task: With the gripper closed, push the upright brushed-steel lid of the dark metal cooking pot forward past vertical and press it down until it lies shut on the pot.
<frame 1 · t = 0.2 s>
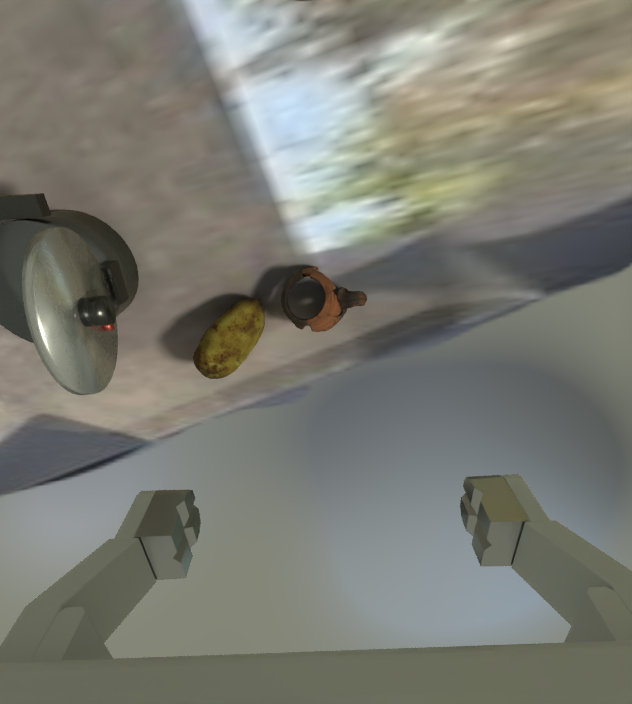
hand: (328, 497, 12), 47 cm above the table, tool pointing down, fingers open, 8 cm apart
pot: (82, 267, 56), on the table
lid: (92, 311, 39), point 18 cm above the table, hinge at 100.0°
potato: (237, 328, 61), on the table
pottery mug: (323, 294, 58), on the table
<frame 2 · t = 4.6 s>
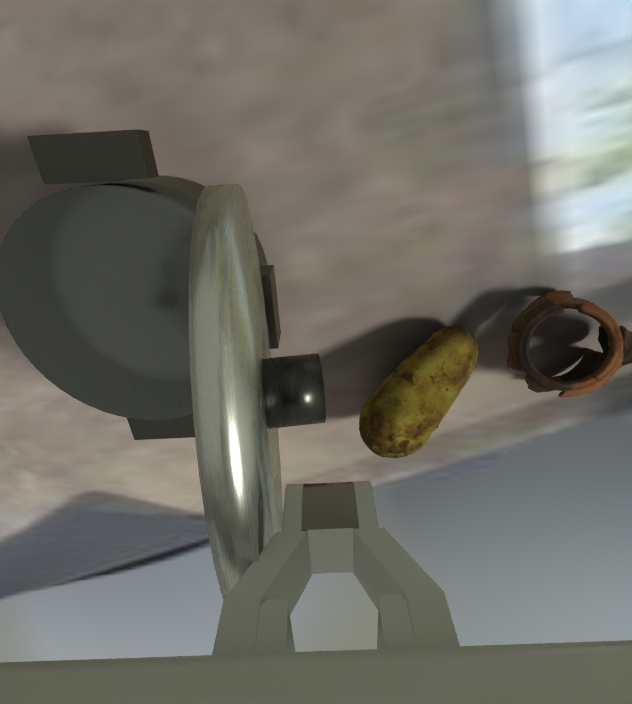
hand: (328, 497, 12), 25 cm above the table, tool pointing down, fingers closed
pot: (177, 276, 33), on the table
lid: (281, 389, 17), point 19 cm above the table, hinge at 95.8°, touching gripper
potato: (410, 370, 38), on the table
pottery mug: (557, 332, 37), on the table
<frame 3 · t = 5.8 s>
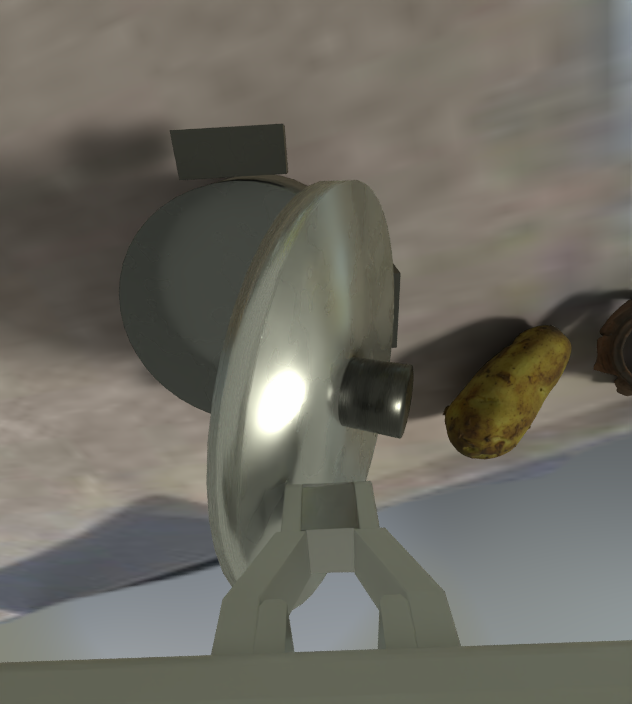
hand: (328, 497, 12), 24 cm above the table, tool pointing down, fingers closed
pot: (265, 275, 33), on the table
lid: (367, 391, 16), point 19 cm above the table, hinge at 66.3°, touching gripper
potato: (489, 371, 38), on the table
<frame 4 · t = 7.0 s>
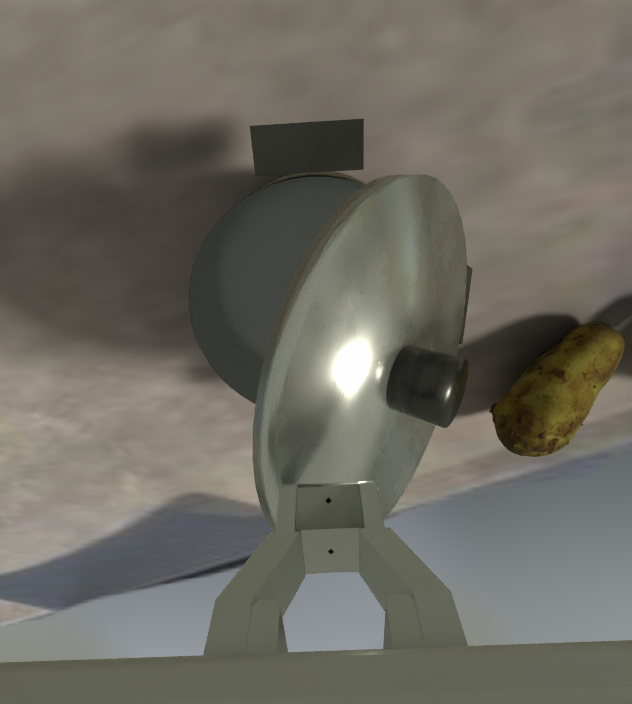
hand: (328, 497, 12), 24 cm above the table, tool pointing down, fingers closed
pot: (316, 272, 33), on the table
lid: (418, 379, 17), point 18 cm above the table, hinge at 52.6°, touching gripper
potato: (535, 368, 38), on the table
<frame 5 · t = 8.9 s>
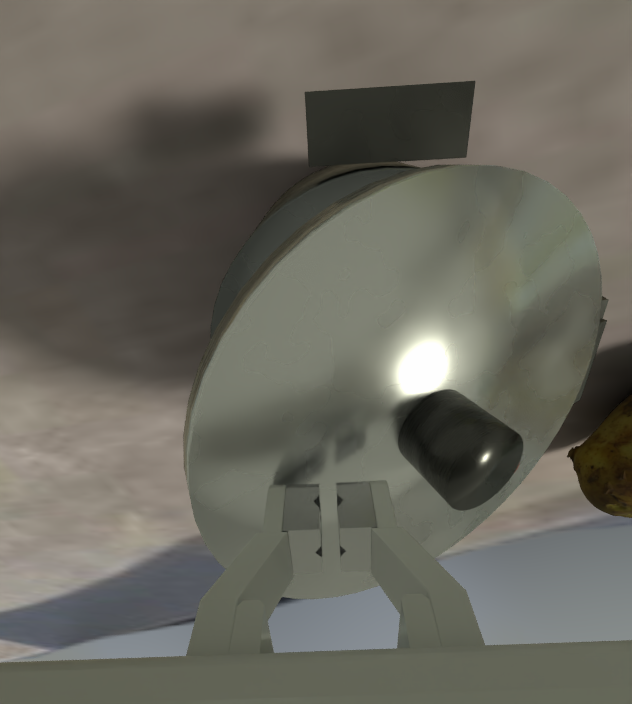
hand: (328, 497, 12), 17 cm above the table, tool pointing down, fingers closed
pot: (362, 289, 26), on the table
lid: (451, 436, 13), point 15 cm above the table, hinge at 25.2°, touching gripper
potato: (621, 402, 31), on the table
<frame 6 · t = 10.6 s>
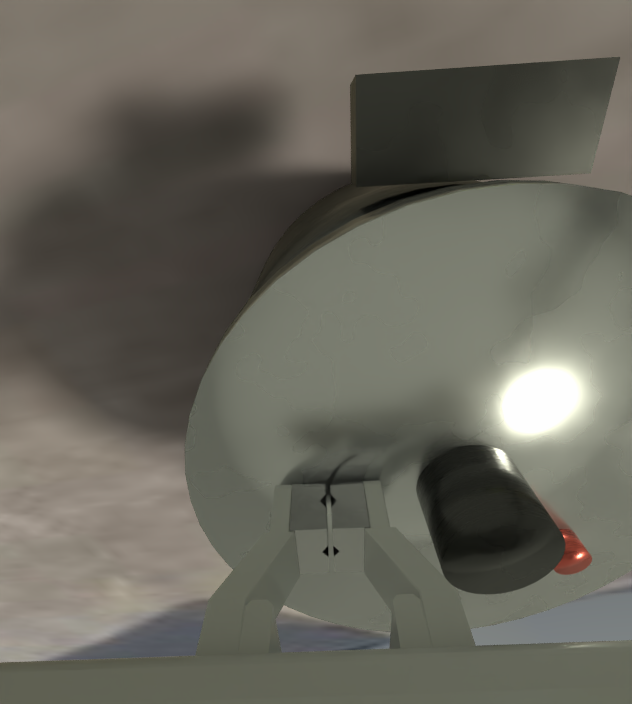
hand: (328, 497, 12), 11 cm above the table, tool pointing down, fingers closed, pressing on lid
pot: (396, 328, 22), on the table
lid: (482, 501, 11), point 12 cm above the table, hinge at 1.9°, touching gripper
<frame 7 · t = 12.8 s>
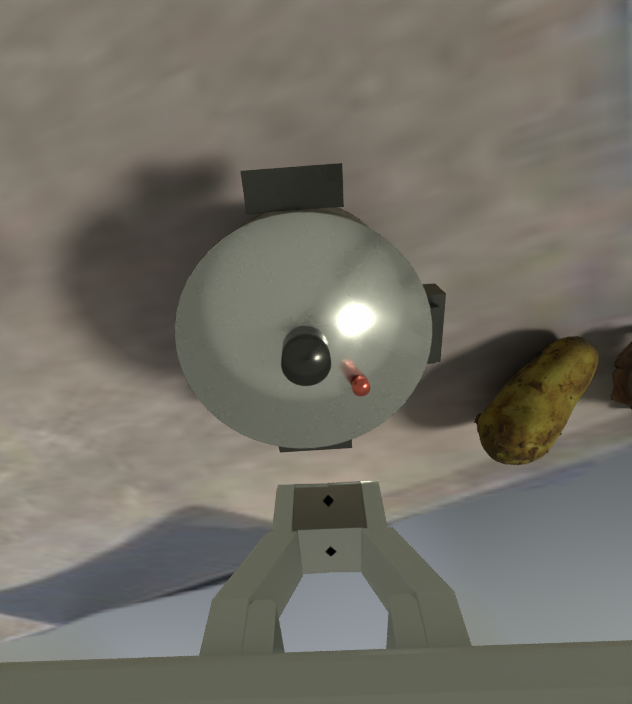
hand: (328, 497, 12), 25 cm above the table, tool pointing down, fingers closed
pot: (306, 295, 35), on the table
lid: (308, 351, 24), point 12 cm above the table, hinge at 1.8°
potato: (517, 380, 40), on the table
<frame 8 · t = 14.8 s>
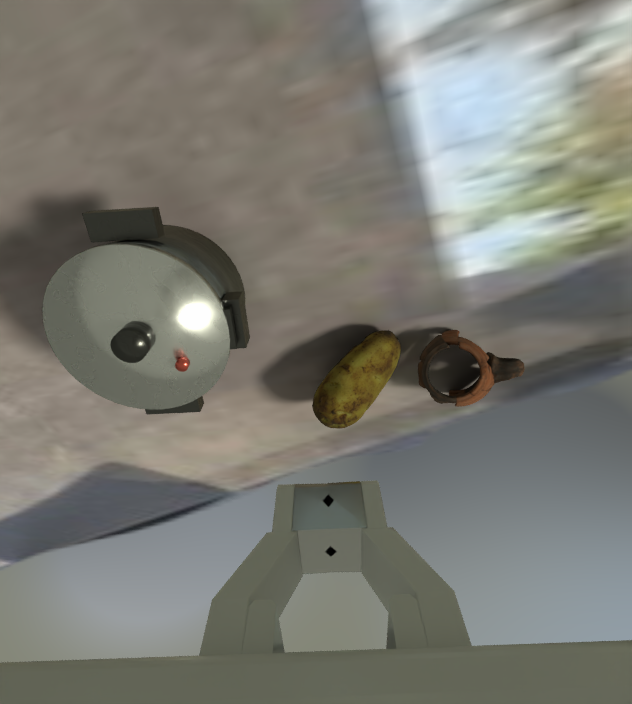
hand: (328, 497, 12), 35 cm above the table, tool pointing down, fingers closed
pot: (177, 295, 45), on the table
lid: (138, 339, 35), point 12 cm above the table, hinge at 1.8°
potato: (355, 364, 50), on the table
pottery mug: (459, 358, 50), on the table
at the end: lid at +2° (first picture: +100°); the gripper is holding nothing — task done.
